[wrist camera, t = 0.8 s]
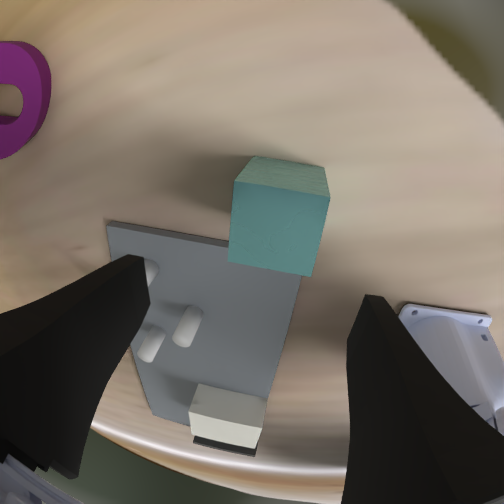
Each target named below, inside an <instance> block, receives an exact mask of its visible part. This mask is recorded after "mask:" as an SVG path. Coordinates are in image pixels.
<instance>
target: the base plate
mask: <svg viewBox="0 0 504 504" xmlns="http://www.w3.org/2000/svg"><path fill="white" fill-rule="evenodd" d="M106 227H107V234H108V241H109V248H110V254H111V260H112V261H114V260H116V259H118V258H120V257H123V256H125V255H127V254H131V255H136V256H142V257H144V263H145V270H146V277H147V283H148V290H149V296H150V302H151V304H150V307H149V309H148V311H147V314H146V316H145V318H144V320H143V323H142V325H141V327H140V329H139V330H138V332H137V334H136V335H135V337H134V339H133V340H132V342H131V344H130V345H131V349H132V352H133V356H134V359H135V363H136V366H137V369H138V373H139V376H140V379H141V382H142V385H143V388H144V391H145V394H146V397H147V400H148V403H149V406H150V408H151V411H152V414H153V415H155V416H158V417H161V418H164V419H167V420H170V421H173V422H177V423H180V424H183V425H187V426H190V427H191V425H190V419H189V412H188V411H189V409H190V406H191V403H192V400H193V397H194V395H195V392H196V389H197V386H198V384H203V385H207V386H211V387H216V388H220V389H224V390H229V391H233V392H238V393H243V394H248V395H253V396H258V397H263V398H268V396H269V393H270V390H271V386H272V383H273V380H274V376H275V373H276V370H277V366H278V363H279V359H280V356H281V352H282V349H283V345H284V342H285V338H286V335H287V331H288V327H289V324H290V320H291V316H292V313H293V309H294V305H295V301H296V297H297V293H298V289H299V285H300V281H301V277H302V275H297V274H292V273H286V272H281V271H276V270H270V269H265V268H259V267H254V266H249V265H243V264H238V263H233V262H228V248H229V241H223V240H218V239H212V238H206V237H201V236H195V235H190V234H184V233H178V232H173V231H167V230H161V229H156V228H150V227H144V226H139V225H133V224H127V223H122V222H116V221H111V222H110V223H109V224H108V225H106ZM193 443H195V444H198V445H202V446H206V447H210V448H214V449H218V450H223V451H227V452H232V453H237V454H242V455H247V456H252V457H255V454H256V449H257V444H258V442H257V444H256V447H255V449H254V448H248V447H243V446H238V445H233V444H229V443H224V442H220V441H215V440H211V439H207V438H203V437H200V436H196V435H195V437H194V440H193Z"/></svg>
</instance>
